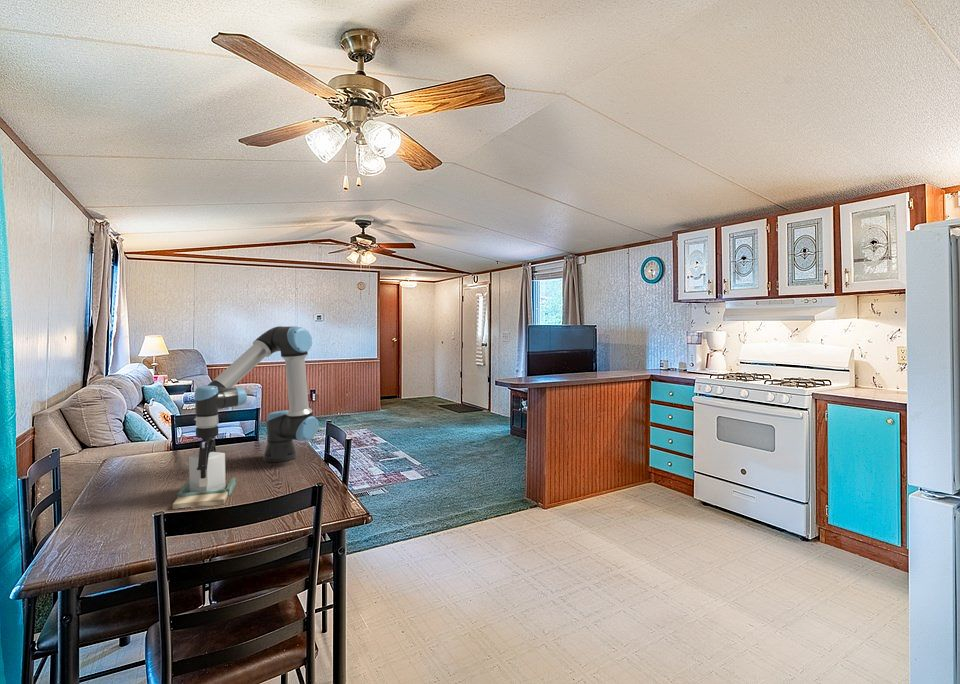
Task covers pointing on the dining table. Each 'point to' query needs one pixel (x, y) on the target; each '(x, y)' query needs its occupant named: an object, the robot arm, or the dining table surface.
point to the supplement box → (214, 472)
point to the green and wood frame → (202, 496)
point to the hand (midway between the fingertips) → (207, 480)
